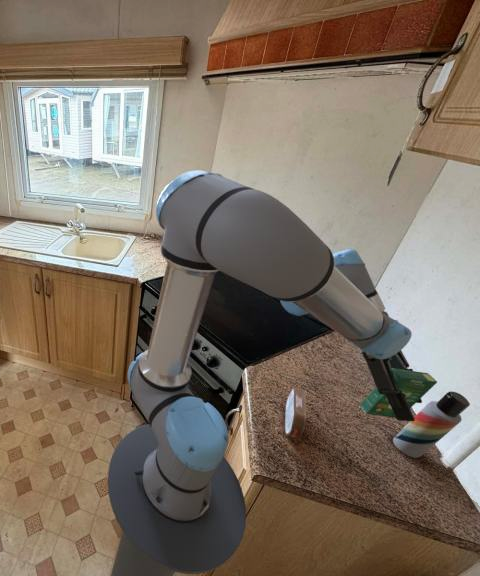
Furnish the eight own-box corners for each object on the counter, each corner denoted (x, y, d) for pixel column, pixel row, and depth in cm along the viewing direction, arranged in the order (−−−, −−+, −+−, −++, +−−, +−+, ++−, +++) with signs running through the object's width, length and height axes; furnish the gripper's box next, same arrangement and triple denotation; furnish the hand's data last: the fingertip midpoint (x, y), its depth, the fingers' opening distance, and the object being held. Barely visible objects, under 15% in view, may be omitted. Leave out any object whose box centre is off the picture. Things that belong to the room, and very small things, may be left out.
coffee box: (392, 409, 74) (428, 371, 67) (401, 419, 72) (439, 382, 65) (358, 404, 75) (390, 366, 67) (365, 414, 72) (400, 376, 65)
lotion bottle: (391, 433, 83) (440, 382, 72) (418, 445, 80) (473, 395, 69) (393, 449, 79) (446, 398, 68) (422, 463, 76) (481, 412, 65)
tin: (295, 447, 77) (309, 427, 73) (281, 441, 79) (295, 421, 74) (295, 404, 89) (307, 384, 84) (283, 399, 90) (295, 380, 85)
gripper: (358, 305, 79) (398, 389, 77) (330, 333, 68) (376, 433, 66) (397, 298, 72) (441, 389, 71) (372, 328, 61) (424, 437, 60)
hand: (409, 410), depth 68 cm, fingers closed on coffee box, 7 cm apart
